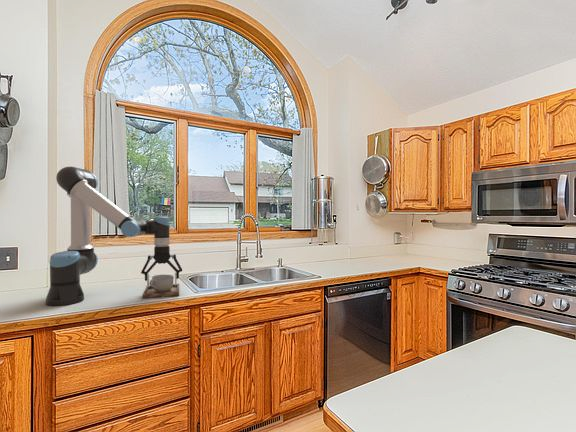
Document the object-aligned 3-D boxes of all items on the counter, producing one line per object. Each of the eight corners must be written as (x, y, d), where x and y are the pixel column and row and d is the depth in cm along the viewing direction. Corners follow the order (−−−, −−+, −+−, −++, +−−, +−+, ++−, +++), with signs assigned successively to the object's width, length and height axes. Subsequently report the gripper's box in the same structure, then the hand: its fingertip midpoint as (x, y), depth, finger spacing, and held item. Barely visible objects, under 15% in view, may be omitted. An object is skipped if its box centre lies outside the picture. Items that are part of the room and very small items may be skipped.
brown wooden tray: (142, 298, 160) (142, 294, 160) (146, 289, 179) (146, 285, 179) (179, 296, 165) (179, 292, 165) (179, 287, 184) (179, 283, 184)
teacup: (165, 287, 181) (165, 273, 181) (178, 290, 175) (178, 275, 175) (142, 292, 169) (142, 277, 169) (154, 295, 163) (154, 280, 163)
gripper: (135, 247, 164) (135, 289, 165) (186, 245, 172) (187, 285, 172) (136, 245, 172) (137, 286, 172) (186, 244, 179) (186, 282, 180)
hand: (162, 286), depth 172 cm, fingers open, 13 cm apart
